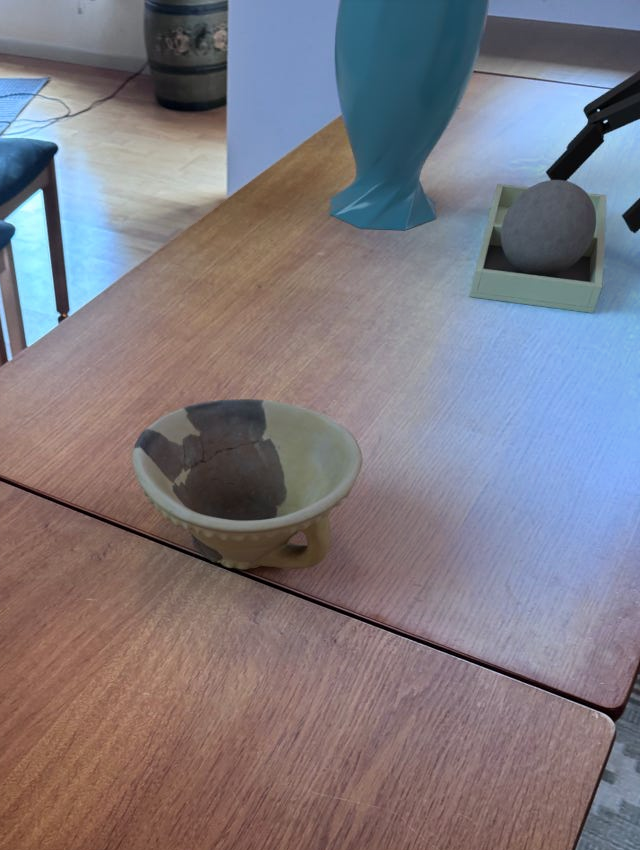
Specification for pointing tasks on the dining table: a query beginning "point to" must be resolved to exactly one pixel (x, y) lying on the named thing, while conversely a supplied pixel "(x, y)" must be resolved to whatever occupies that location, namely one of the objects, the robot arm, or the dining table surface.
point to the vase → (400, 98)
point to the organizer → (556, 291)
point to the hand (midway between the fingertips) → (588, 202)
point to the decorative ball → (548, 228)
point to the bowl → (249, 478)
